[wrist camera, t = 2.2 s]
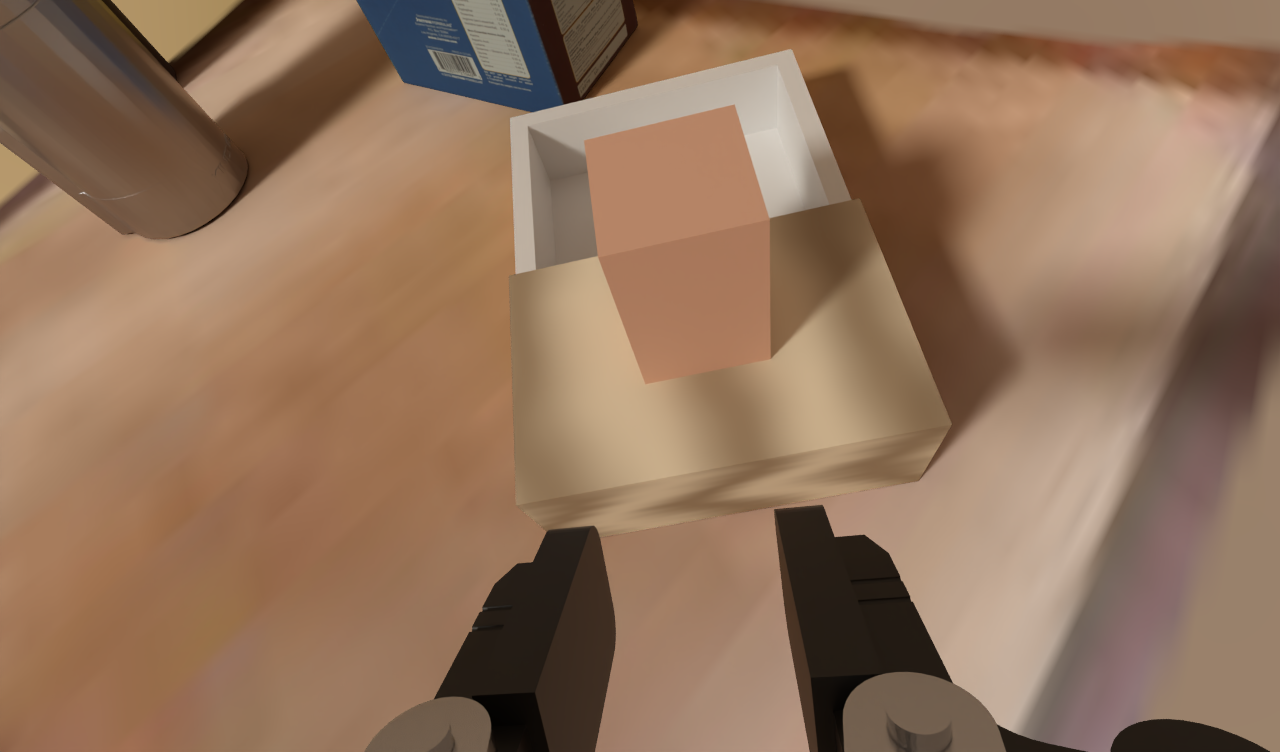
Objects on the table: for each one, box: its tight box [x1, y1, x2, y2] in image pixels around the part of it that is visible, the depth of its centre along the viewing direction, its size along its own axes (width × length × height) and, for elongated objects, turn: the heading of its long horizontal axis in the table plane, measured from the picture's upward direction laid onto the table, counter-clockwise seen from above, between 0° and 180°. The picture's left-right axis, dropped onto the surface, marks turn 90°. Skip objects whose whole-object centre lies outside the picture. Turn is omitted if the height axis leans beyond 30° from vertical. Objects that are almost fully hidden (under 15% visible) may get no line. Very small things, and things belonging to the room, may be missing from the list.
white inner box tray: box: [510, 49, 851, 274], centre depth 35 cm, size 16×12×5 cm
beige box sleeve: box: [509, 198, 952, 537], centre depth 29 cm, size 16×11×6 cm
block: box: [584, 104, 771, 384], centre depth 23 cm, size 5×5×8 cm
